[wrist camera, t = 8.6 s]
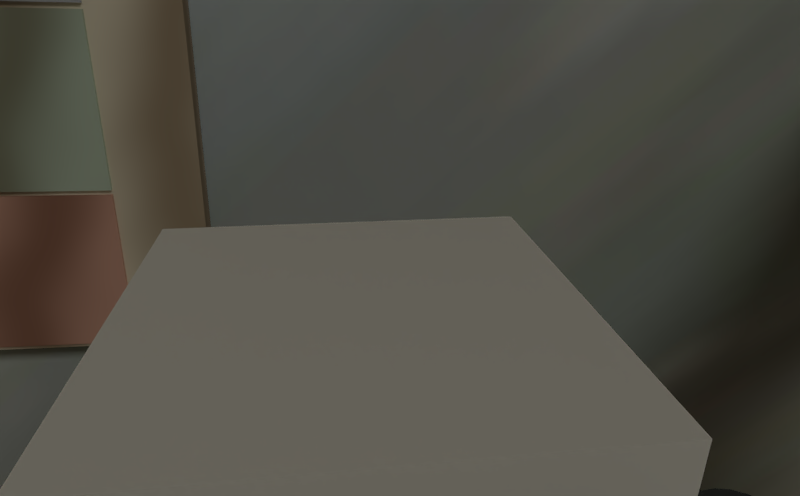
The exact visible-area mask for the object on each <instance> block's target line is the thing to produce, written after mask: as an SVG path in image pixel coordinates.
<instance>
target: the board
mask: <svg viewBox="0 0 800 496" xmlns="http://www.w3.org/2000/svg"><path fill="white" fill-rule="evenodd" d="M203 227H211V224H210V214H209V205H208V195H207V185H206V175H205V165H204V155H203V145H202V136H201V126H200V116H199V106H198V96H197V86H196V77H195V67H194V57H193V47H192V37H191V27H190V18H189V8H188V0H0V350H9V349H31V348H54V347H76V346H90V345H91V343H92V341H93V340H94V338H95V337H96V335H97V333H98V332H99V330H100V329H101V327H102V325H103V324H104V322H105V321H106V319H107V317H108V316H109V314H110V313H111V311H112V309H113V308H114V306H115V305H116V303H117V301H118V300H119V298H120V297H121V295H122V293H123V292H124V290H125V289H126V287H127V285H128V284H129V282H130V281H131V279H132V277H133V276H134V274H135V273H136V271H137V269H138V268H139V266H140V265H141V263H142V261H143V260H144V258H145V257H146V255H147V253H148V252H149V250H150V249H151V247H152V245H153V244H154V242H155V241H156V239H157V237H158V236H159V234H160V233H161V231H162V229H175V228H203Z"/></svg>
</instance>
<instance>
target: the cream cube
mask: <svg viewBox="0 0 800 496" xmlns="http://www.w3.org/2000/svg"><path fill="white" fill-rule="evenodd" d="M711 443H712V438H711V437H710V436H709V435H708V434H707V432H706V431H705V430H704V429H703V428H702V427H701V426H700V425H699V424H698V422H697V421H696V420H695V419H694V418H693V417H692V416H691V415H690V414H689V413H688V411H687V410H686V409H685V408H684V407H683V406H682V405H681V404H680V403H679V402H678V400H677V399H676V398H675V397H674V396H673V395H672V394H671V393H670V392H669V391H668V389H667V388H666V387H665V386H664V385H663V384H662V383H661V382H660V381H659V379H658V378H657V377H656V376H655V375H654V374H653V373H652V372H651V371H650V370H649V368H648V367H647V366H646V365H645V364H644V363H643V362H642V361H641V360H640V359H639V357H638V356H637V355H636V354H635V353H634V352H633V351H632V350H631V349H630V348H629V346H628V345H627V344H626V343H625V342H624V341H623V340H622V339H621V338H620V336H619V335H618V334H617V333H616V332H615V331H614V330H613V329H612V328H611V327H610V325H609V324H608V323H607V322H606V321H605V320H604V319H603V318H602V317H601V316H600V314H599V313H598V312H597V311H596V310H595V309H594V308H593V307H592V306H591V304H590V303H589V302H588V301H587V300H586V299H585V298H584V297H583V296H582V295H581V293H580V292H579V291H578V290H577V289H576V288H575V287H574V286H573V285H572V284H571V282H570V281H569V280H568V279H567V278H566V277H565V276H564V275H563V274H562V273H561V271H560V270H559V269H558V268H557V267H556V266H555V265H554V264H553V263H552V261H551V260H550V259H549V258H548V257H547V256H546V255H545V254H544V253H543V252H542V250H541V249H540V248H539V247H538V246H537V245H536V244H535V243H534V242H533V241H532V239H531V238H530V237H529V236H528V235H527V234H526V233H525V232H524V231H523V229H522V228H521V227H520V226H519V225H518V224H517V223H516V222H515V221H514V220H513V218H512V217H511V216H509V217H482V218H454V219H426V220H398V221H370V222H342V223H314V224H287V225H259V226H231V227H203V228H175V229H162V231H161V233H160V234H159V236H158V237H157V239H156V241H155V242H154V244H153V245H152V247H151V249H150V250H149V252H148V253H147V255H146V257H145V258H144V260H143V261H142V263H141V265H140V266H139V268H138V269H137V271H136V273H135V274H134V276H133V277H132V279H131V281H130V282H129V284H128V285H127V287H126V289H125V290H124V292H123V293H122V295H121V297H120V298H119V300H118V301H117V303H116V305H115V306H114V308H113V309H112V311H111V313H110V314H109V316H108V317H107V319H106V321H105V322H104V324H103V325H102V327H101V329H100V330H99V332H98V333H97V335H96V337H95V338H94V340H93V341H92V343H91V345H90V346H89V348H88V349H87V351H86V353H85V354H84V356H83V357H82V359H81V361H80V362H79V364H78V365H77V367H76V369H75V370H74V372H73V373H72V375H71V377H70V378H69V380H68V381H67V383H66V385H65V386H64V388H63V389H62V391H61V393H60V394H59V396H58V397H57V399H56V401H55V402H54V404H53V405H52V407H51V409H50V410H49V412H48V413H47V415H46V417H45V418H44V420H43V422H42V423H41V425H40V426H39V428H38V430H37V431H36V433H35V434H34V436H33V438H32V439H31V441H30V442H29V444H28V446H27V447H26V449H25V450H24V452H23V454H22V455H21V457H20V458H19V460H18V462H17V463H16V465H15V466H14V468H13V470H12V471H11V473H10V474H9V476H8V478H7V479H6V481H5V482H4V484H3V486H2V487H1V489H0V496H698V493H699V489H700V485H701V482H702V478H703V474H704V470H705V466H706V462H707V458H708V454H709V450H710V446H711Z"/></svg>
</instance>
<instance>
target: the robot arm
mask: <svg viewBox="0 0 800 496" xmlns="http://www.w3.org/2000/svg"><path fill="white" fill-rule="evenodd" d="M698 496H751V495H749V494H746V493H742V492H738V491H734V490H730V489H716V488H714V489H708V490H703V491H701V490H700V489H699V493H698Z"/></svg>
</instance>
